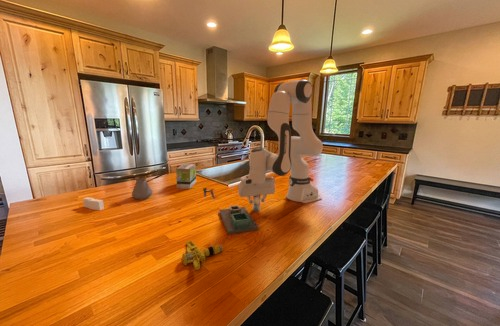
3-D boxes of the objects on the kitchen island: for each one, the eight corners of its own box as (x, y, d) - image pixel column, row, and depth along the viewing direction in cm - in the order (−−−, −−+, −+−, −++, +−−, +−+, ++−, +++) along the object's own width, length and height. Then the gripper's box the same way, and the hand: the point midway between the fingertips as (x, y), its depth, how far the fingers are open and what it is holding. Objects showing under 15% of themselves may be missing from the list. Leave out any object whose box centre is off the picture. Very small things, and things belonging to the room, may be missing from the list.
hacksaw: (203, 189, 144) (203, 187, 144) (218, 188, 147) (218, 186, 146) (204, 203, 121) (204, 200, 121) (222, 201, 124) (221, 199, 123)
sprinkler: (231, 251, 70) (187, 266, 63) (231, 262, 71) (188, 278, 63) (211, 232, 87) (174, 241, 79) (211, 241, 87) (174, 251, 79)
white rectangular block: (108, 209, 110) (107, 200, 109) (81, 216, 103) (79, 205, 102) (105, 201, 121) (104, 192, 120) (80, 206, 114) (79, 196, 113)
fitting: (258, 208, 115) (259, 191, 113) (261, 211, 111) (261, 194, 109) (251, 209, 114) (252, 192, 111) (254, 212, 110) (254, 194, 108)
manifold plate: (244, 209, 113) (244, 201, 112) (258, 229, 93) (258, 220, 92) (219, 212, 109) (219, 204, 108) (228, 234, 88) (228, 225, 87)
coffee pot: (130, 201, 120) (127, 177, 116) (133, 195, 130) (131, 172, 127) (169, 197, 127) (167, 174, 124) (169, 191, 138) (168, 169, 134)
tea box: (190, 189, 143) (189, 168, 140) (176, 188, 143) (175, 168, 140) (196, 182, 158) (195, 163, 154) (183, 182, 158) (182, 163, 155)
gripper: (272, 175, 114) (271, 198, 117) (237, 177, 108) (237, 202, 111) (277, 178, 109) (276, 202, 112) (240, 181, 102) (240, 207, 105)
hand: (256, 202), depth 111 cm, fingers open, 5 cm apart
